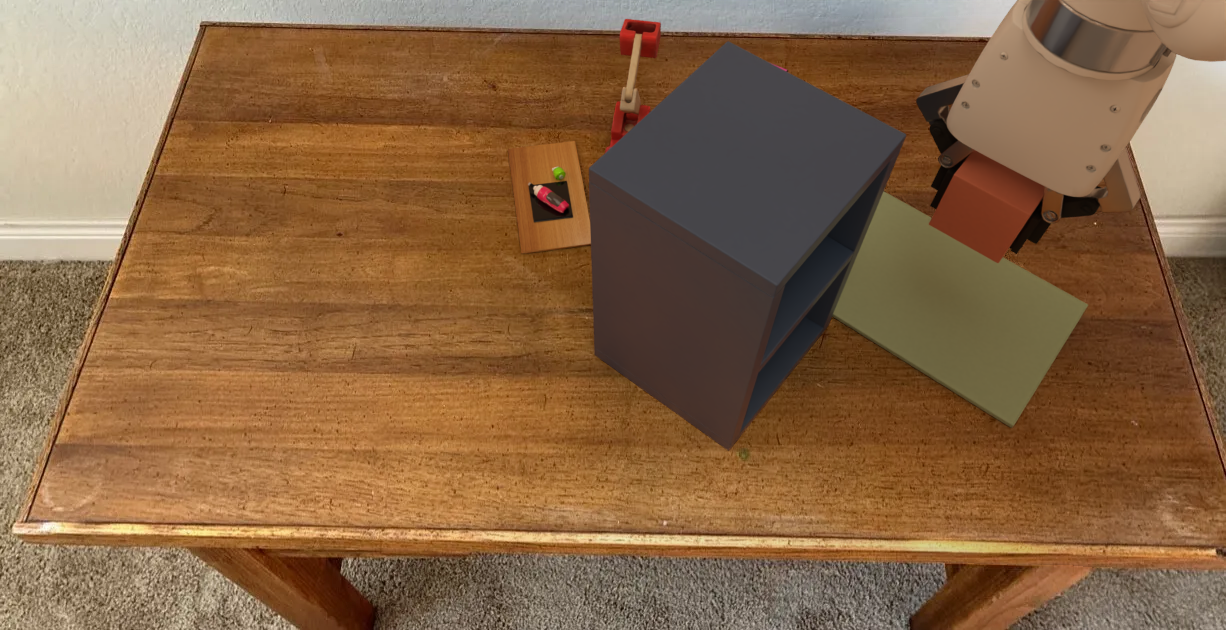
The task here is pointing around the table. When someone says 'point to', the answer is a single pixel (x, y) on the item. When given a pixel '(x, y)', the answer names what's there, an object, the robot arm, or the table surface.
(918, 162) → the table surface
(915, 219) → the play mat
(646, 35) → the toy fire truck
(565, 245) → the board
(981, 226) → the toy block
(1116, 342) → the table surface
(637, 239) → the shelf
